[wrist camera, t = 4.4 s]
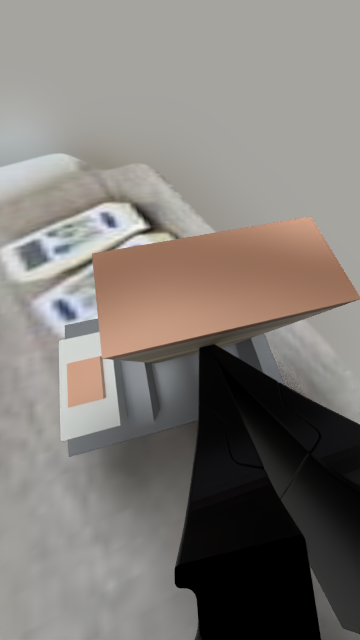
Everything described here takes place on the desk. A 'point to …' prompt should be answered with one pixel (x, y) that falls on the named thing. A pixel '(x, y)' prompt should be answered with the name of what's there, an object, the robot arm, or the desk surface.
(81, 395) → the console
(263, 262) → the key
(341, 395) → the desk surface
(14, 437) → the desk surface
